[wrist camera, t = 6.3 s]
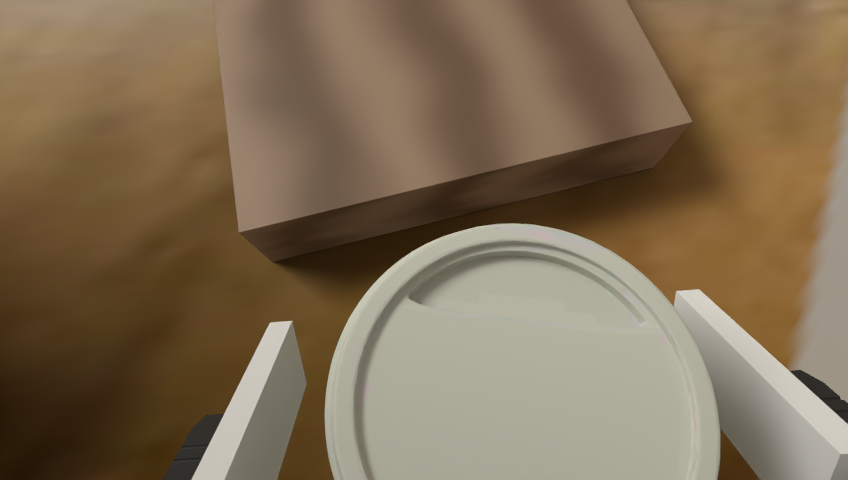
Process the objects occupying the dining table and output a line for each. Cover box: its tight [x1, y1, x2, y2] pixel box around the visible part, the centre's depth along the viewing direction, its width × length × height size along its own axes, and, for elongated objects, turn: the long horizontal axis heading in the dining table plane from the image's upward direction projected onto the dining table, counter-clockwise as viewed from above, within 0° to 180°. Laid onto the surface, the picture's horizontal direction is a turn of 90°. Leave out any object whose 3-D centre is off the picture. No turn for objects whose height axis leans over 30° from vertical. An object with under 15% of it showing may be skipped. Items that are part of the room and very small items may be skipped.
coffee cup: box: [325, 223, 720, 480], centre depth 15 cm, size 8×8×12 cm
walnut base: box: [213, 0, 693, 262], centre depth 25 cm, size 20×20×4 cm
